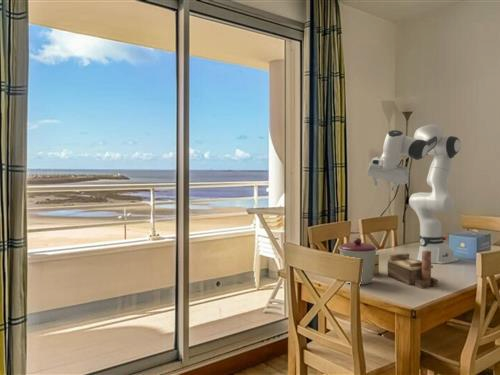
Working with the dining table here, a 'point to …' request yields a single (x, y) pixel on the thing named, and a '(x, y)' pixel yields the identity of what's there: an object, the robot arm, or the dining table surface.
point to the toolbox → (408, 276)
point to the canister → (363, 252)
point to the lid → (405, 261)
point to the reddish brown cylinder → (426, 268)
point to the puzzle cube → (376, 265)
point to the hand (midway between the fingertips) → (384, 187)
